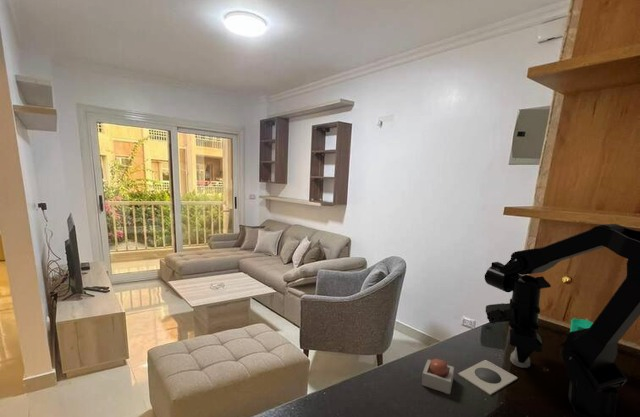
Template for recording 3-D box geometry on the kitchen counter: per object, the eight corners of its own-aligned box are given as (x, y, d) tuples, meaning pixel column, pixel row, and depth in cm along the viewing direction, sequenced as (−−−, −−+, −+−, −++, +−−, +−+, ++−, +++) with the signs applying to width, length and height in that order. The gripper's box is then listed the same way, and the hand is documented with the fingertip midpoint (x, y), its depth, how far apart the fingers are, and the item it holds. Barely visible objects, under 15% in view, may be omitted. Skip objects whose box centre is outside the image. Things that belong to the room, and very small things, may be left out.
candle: (603, 370, 76) (609, 324, 75) (575, 367, 77) (580, 322, 76) (587, 356, 82) (592, 313, 80) (562, 353, 83) (566, 311, 82)
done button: (447, 371, 72) (448, 361, 72) (445, 380, 69) (445, 370, 69) (431, 366, 74) (432, 357, 74) (428, 374, 71) (429, 365, 71)
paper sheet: (485, 360, 80) (485, 359, 80) (517, 378, 73) (517, 377, 73) (458, 374, 75) (458, 372, 75) (490, 395, 68) (490, 393, 68)
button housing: (453, 378, 73) (454, 367, 73) (449, 394, 68) (450, 382, 68) (427, 370, 76) (427, 359, 76) (422, 385, 71) (422, 372, 71)
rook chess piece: (532, 363, 79) (535, 334, 78) (527, 371, 76) (530, 340, 75) (512, 356, 82) (515, 327, 81) (507, 362, 79) (509, 333, 78)
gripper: (489, 281, 89) (486, 332, 91) (487, 306, 73) (483, 367, 75) (536, 289, 83) (531, 343, 85) (545, 317, 67) (538, 383, 69)
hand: (520, 357), depth 79 cm, fingers closed on rook chess piece, 4 cm apart
